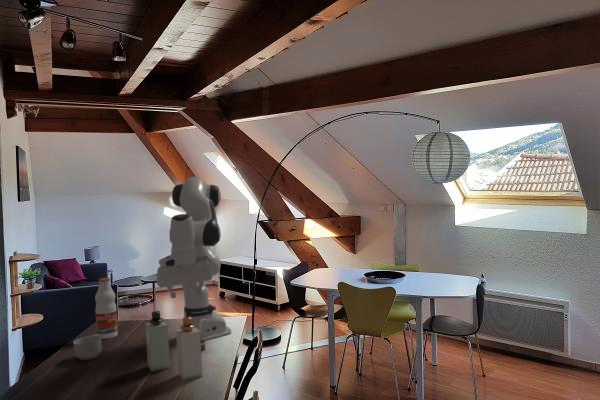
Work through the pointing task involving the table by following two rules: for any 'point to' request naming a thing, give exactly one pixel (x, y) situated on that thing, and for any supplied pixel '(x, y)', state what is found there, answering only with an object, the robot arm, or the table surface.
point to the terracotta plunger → (187, 324)
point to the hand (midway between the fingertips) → (186, 295)
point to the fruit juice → (106, 310)
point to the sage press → (157, 346)
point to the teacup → (87, 347)
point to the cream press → (189, 354)
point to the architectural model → (202, 341)
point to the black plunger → (156, 318)
